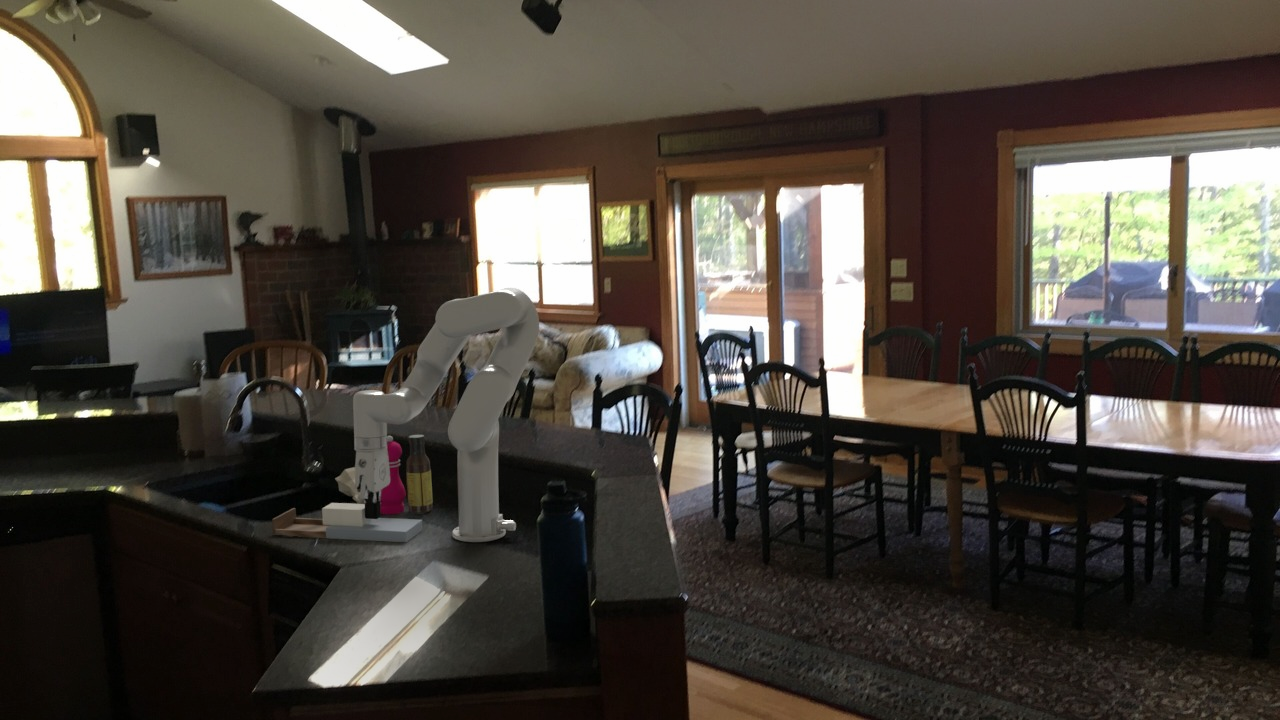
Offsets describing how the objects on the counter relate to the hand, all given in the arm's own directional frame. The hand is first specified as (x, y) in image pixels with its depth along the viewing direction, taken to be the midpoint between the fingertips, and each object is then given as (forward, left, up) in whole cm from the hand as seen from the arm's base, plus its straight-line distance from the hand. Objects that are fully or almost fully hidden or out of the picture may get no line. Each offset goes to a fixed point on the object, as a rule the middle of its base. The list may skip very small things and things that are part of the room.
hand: (372, 517), depth 235 cm
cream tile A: (+4, 0, -2) cm, 4 cm away
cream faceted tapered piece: (+16, -25, -4) cm, 30 cm away
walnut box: (+16, 0, -4) cm, 17 cm away
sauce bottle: (-3, -21, -4) cm, 22 cm away
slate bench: (0, 0, -4) cm, 4 cm away
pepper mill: (+4, -19, -4) cm, 20 cm away
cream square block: (+9, 0, -2) cm, 9 cm away
